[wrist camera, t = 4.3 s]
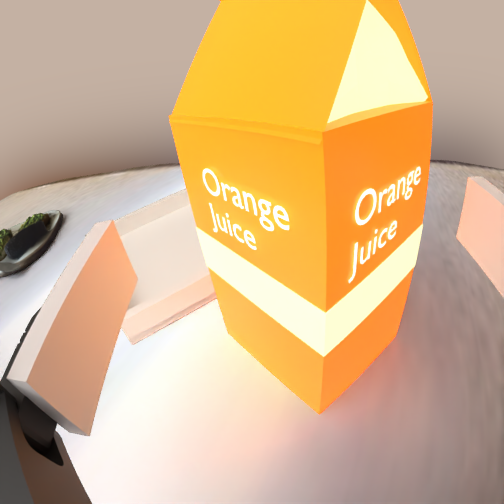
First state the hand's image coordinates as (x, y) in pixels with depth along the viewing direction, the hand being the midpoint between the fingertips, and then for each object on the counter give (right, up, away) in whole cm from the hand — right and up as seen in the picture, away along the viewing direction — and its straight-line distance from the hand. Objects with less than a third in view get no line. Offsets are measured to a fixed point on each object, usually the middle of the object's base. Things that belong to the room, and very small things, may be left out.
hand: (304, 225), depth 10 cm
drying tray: (-9, -1, +20) cm, 22 cm away
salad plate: (-37, -1, +28) cm, 47 cm away
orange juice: (+2, -7, +10) cm, 12 cm away
